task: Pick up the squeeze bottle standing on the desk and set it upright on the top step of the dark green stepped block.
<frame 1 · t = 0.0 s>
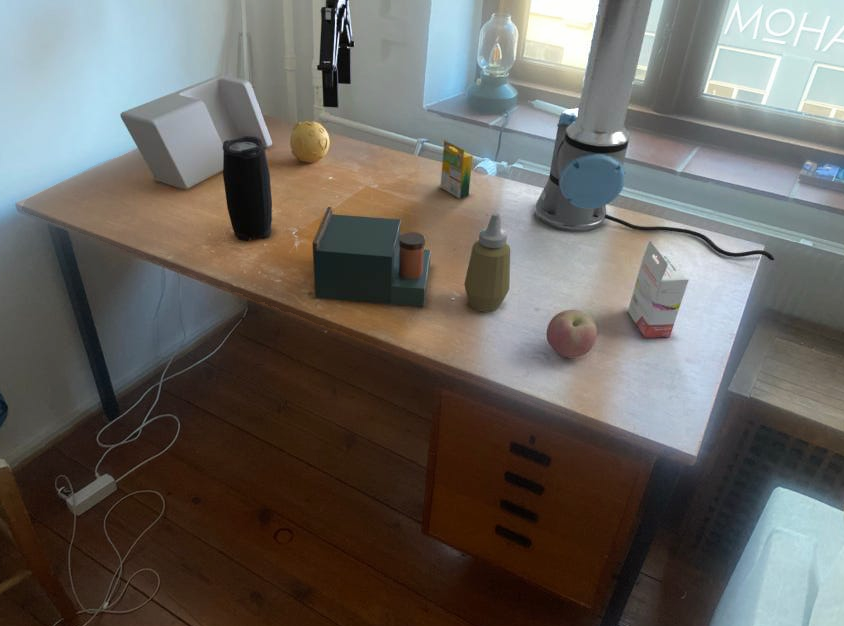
hand: (337, 94, 135), 28 cm above the table, tool pointing down, fingers open, 13 cm apart
portable speaker: (253, 234, 149), on the table
spice jar: (410, 272, 130), point 4 cm above the table, touching dark green stepped block
squeeze bottle: (484, 304, 130), on the table
crayon box: (454, 192, 167), on the table
ink cartridge box: (648, 324, 126), on the table
apple: (566, 354, 119), on the table
stress ball: (310, 161, 179), on the table
bracket: (208, 167, 175), on the table
dark green stepped block: (374, 282, 135), on the table
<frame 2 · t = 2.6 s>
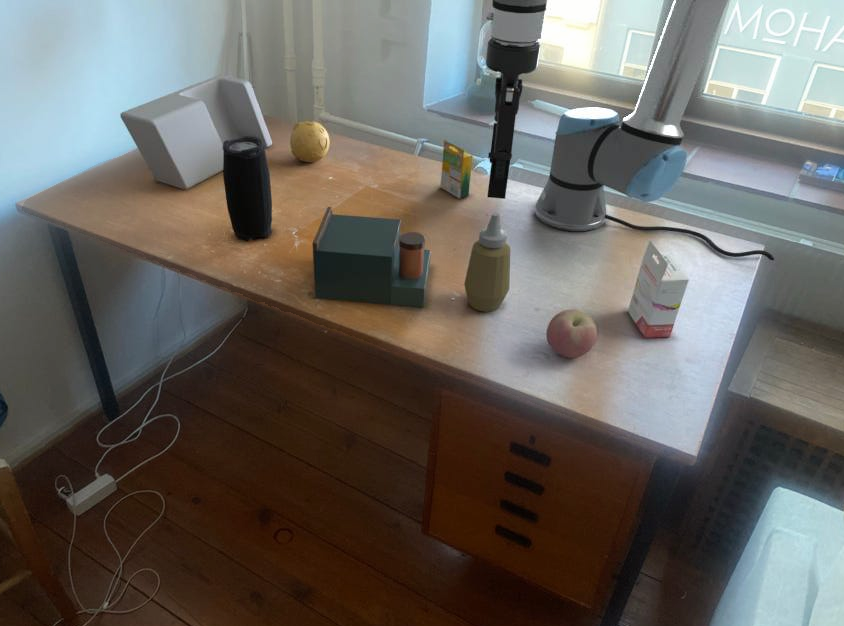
hand: (496, 179, 115), 24 cm above the table, tool pointing down, fingers open, 13 cm apart
nothing on the table moved.
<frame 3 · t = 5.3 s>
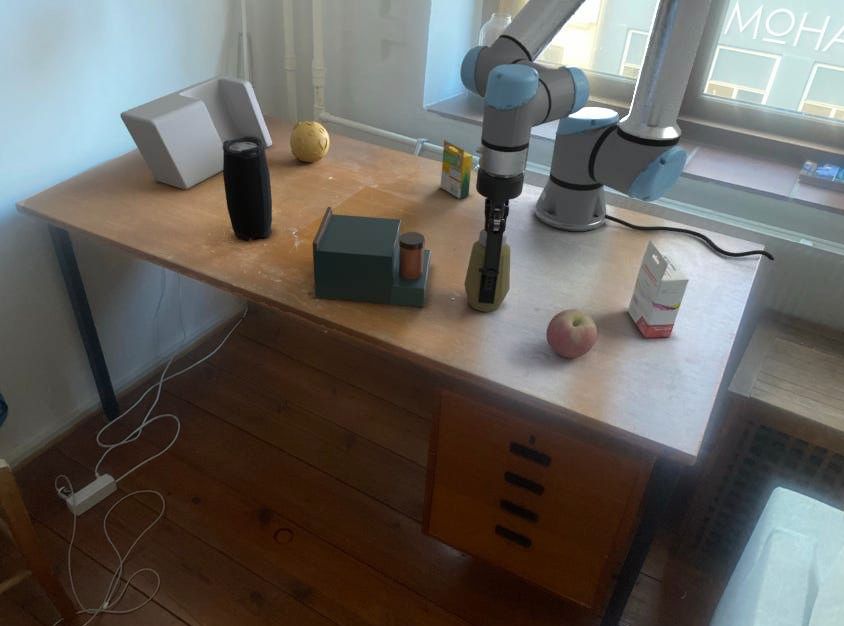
hand: (486, 288, 128), 3 cm above the table, tool pointing down, fingers closed on squeeze bottle, 8 cm apart
squeeze bottle: (484, 304, 130), on the table, touching gripper
everything else where it was.
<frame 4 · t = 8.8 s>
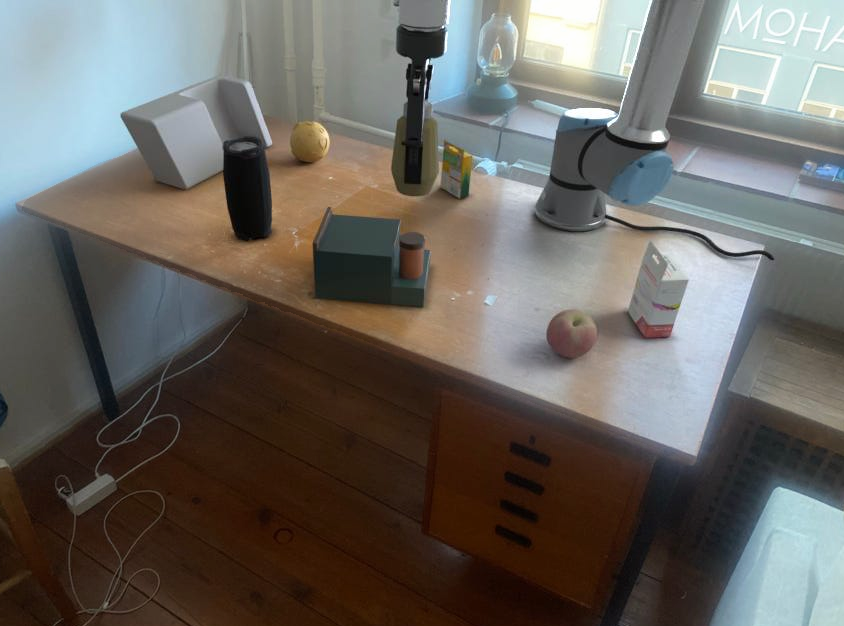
hand: (414, 171, 118), 24 cm above the table, tool pointing down, fingers closed on squeeze bottle, 8 cm apart
squeeze bottle: (413, 191, 120), point 20 cm above the table, touching gripper
everything else where it was.
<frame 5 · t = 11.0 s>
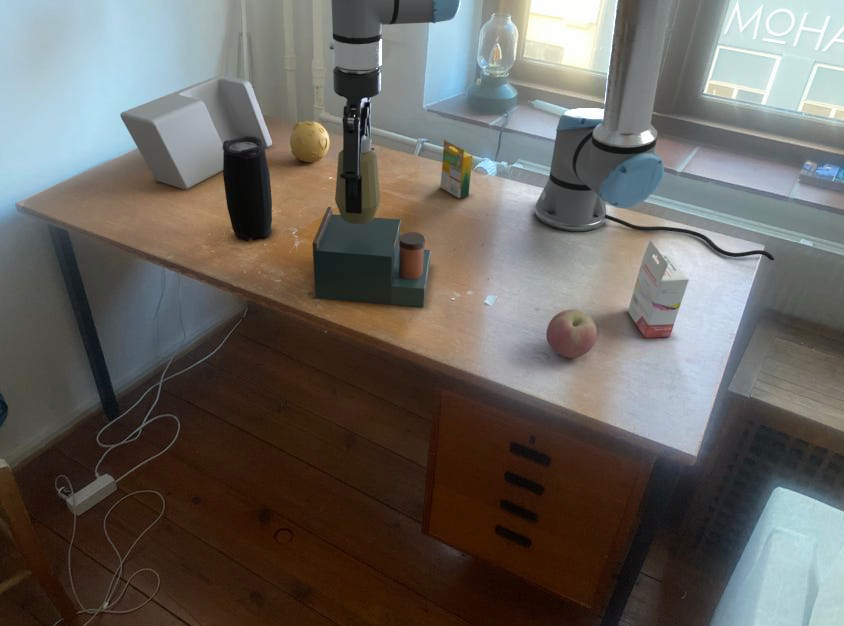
hand: (358, 200, 125), 17 cm above the table, tool pointing down, fingers closed on squeeze bottle, 8 cm apart
squeeze bottle: (358, 218, 127), point 13 cm above the table, touching gripper
everything else where it was.
when the fingers open (13 cm above the table, at t = 12.4 s): squeeze bottle stays where it is, resting on dark green stepped block.
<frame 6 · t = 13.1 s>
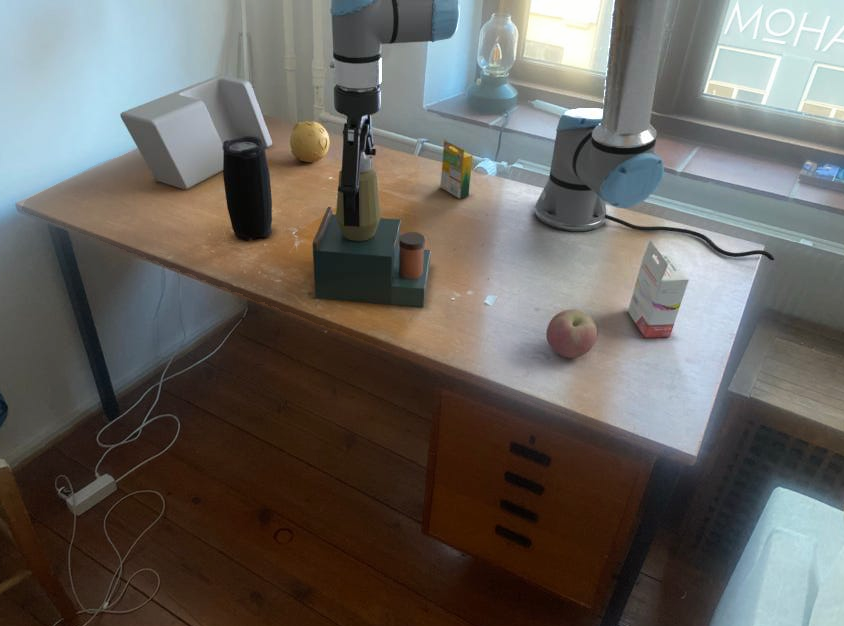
hand: (358, 207, 126), 15 cm above the table, tool pointing down, fingers open, 13 cm apart
squeeze bottle: (358, 235, 129), point 10 cm above the table, touching dark green stepped block
everything else where it was.
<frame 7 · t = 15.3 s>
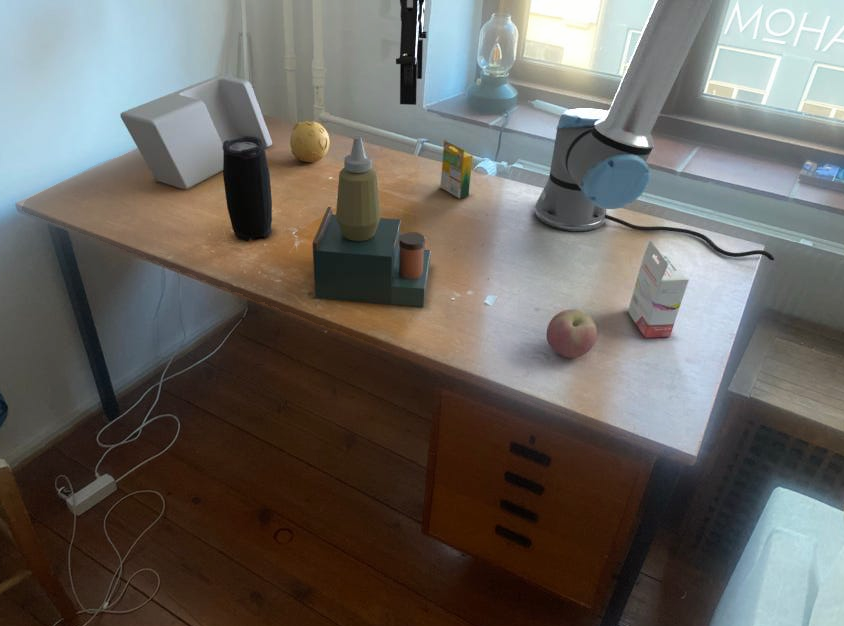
hand: (411, 90, 123), 33 cm above the table, tool pointing down, fingers open, 13 cm apart
nothing on the table moved.
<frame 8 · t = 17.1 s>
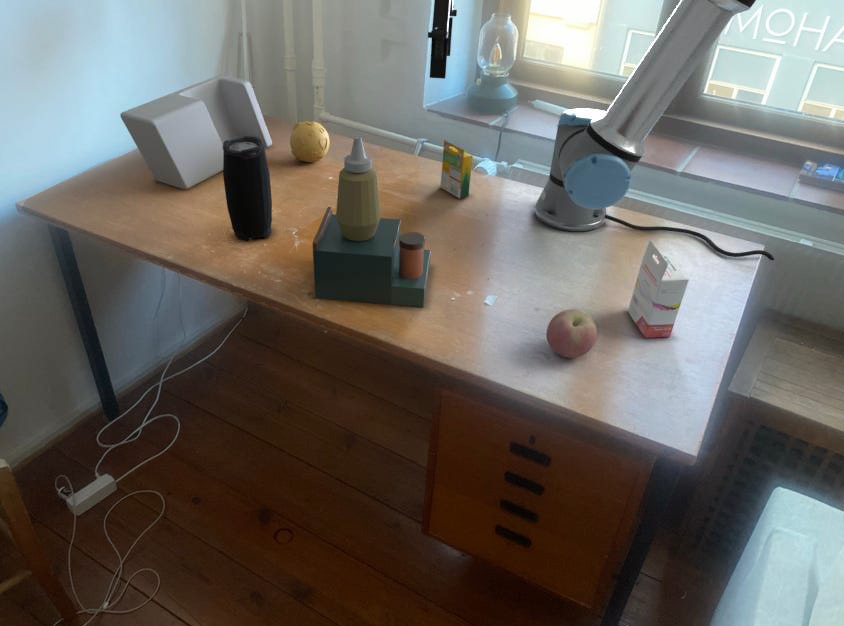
hand: (440, 66, 127), 35 cm above the table, tool pointing down, fingers open, 13 cm apart
nothing on the table moved.
at the end: squeeze bottle inside the target area on the dark green stepped block (0.0 cm from its centre), point 9.8 cm above the dark green stepped block's base; squeeze bottle tilted 0° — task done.
